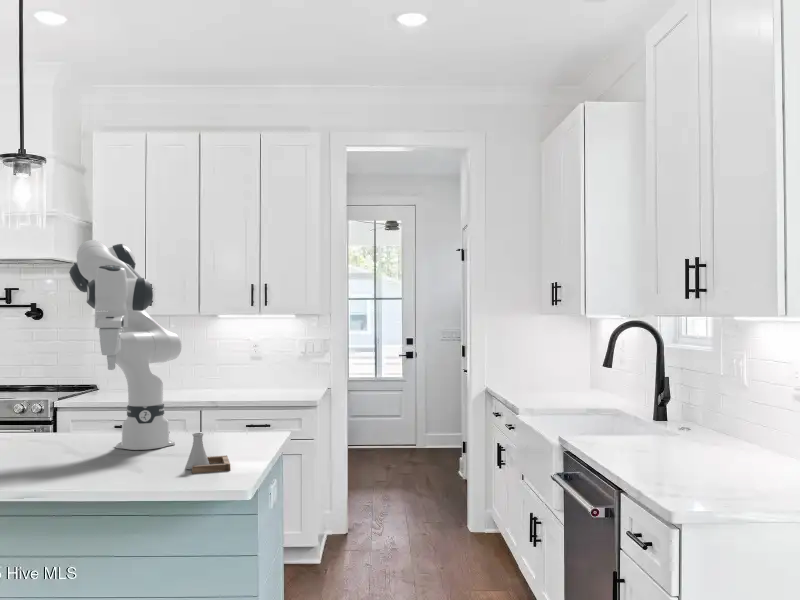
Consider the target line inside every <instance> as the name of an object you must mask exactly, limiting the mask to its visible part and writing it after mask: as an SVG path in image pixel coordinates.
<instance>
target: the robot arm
mask: <svg viewBox="0 0 800 600" xmlns="http://www.w3.org/2000/svg"><path fill="white" fill-rule="evenodd" d="M135 269H136V259H135V254H134V252H133V251H132V250H131V249H130V248H129V247H127V246H126V245H125V244H123V243H117V244H114V245H112V246H111V247H107V245H105V244H104V243H102V242H101V241H99V240H96V239H89V240H86V241H84V242H82V243H81V244H80V246H79V247H78V249H77V253H76V261H74V263H73V265H72V266H71V267H70V270H69V272H68V273H69V278H70V281H71V283H72V285H73V286H74V287H75V288H76V289H77V290H79V291H80V292H82V293H86V303H87V304H88V305H89V306H90V307H91V308H92V309H94V328H97V329H98V334H99V343H100V344H99V347H100V353H101V355H102V356H106V359H107V360H106V361H107V370H109V371H114V370H115V369H116V366H117V365H118V367H119V368H120V369H121V370H122V372H123V374H124V377H125V380H126V383H127V393H128V396H127V397H128V399H127V401H128V403H127V406H126V416H127V418H125V420H124V421H123V422H122V424H121V441H119V443H117V444H116V445H115V449H122V450H123V449H125V450H132V451H134V450H135V451H139V450H140V451H141V450H142V451H143V450H154V449H160V448H165V447H169V446H174V445H176V442H175V440H173V439H172V438H171V437H170V434H171V433H170V425H169V424H170V423H169V420H168V419H167V418H166V417H165V416H164V415H165V410H166V409H165V403H164V384H163V383H164V382H163V381H162V379H161V378H160V377H159V376H158V375H155V374H153V373H152V371H151V369H150V364H161V363H166V362H169V361H173V360H176V359H177V358H178V357H179V356H180V353H181V351H182V347H183V346H182V341H181V338H180V337H179V335H178V334H177V333H175V332H172V331H170V330H168V329H166V328H164V327H163V326H162V325H161V324H159V323H158V322H157V320H155V319H154V318H153V317H152V316H151V315H150V314H149V313H148V311H147V308H149V306H151V304H152V302H153V300H154V299H153V297H154V293H153V292H154V291H153V288H152V285H151V283H150V282H149V281H148V279H146V278H145V277H142V276H140V274H139V273H138V272H137V271H136V270H135Z"/></svg>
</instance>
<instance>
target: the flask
mask: <svg viewBox="0 0 800 600" xmlns="http://www.w3.org/2000/svg"><path fill="white" fill-rule="evenodd" d="M191 434H192V437H193V440H192V441H193V442H192V447H191V450H190V453H189V456H188V459H187V462H186V464H185V470H192V466H196V465H210V464H209V461H208V458H207V457H208V456H207V453H206V450H205V447H204V442H203V436H204V433H203V432H193V433H191Z"/></svg>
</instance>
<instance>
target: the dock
mask: <svg viewBox="0 0 800 600" xmlns="http://www.w3.org/2000/svg"><path fill="white" fill-rule="evenodd" d="M207 458H208V461H209V464H210V465H196V466H192V469H191V473H192V474H202V473H214V472H229V471H231V463H230V460H229V457H228V455H216V456H215V455H213V456H211V455H210V456H207Z"/></svg>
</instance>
